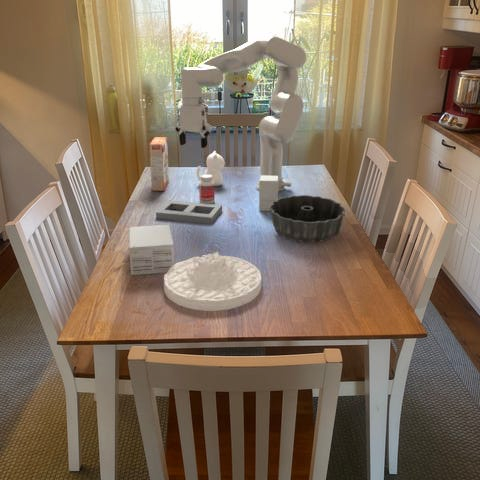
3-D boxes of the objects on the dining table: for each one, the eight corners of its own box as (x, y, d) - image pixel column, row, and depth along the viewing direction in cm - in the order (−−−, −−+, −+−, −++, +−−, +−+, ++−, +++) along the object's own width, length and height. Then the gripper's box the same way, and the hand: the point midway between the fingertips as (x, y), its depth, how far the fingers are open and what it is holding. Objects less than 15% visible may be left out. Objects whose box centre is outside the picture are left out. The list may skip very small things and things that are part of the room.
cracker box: (165, 191, 229) (162, 144, 221) (151, 191, 229) (148, 144, 221) (169, 181, 242) (167, 136, 234) (156, 181, 242) (154, 136, 234)
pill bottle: (217, 202, 217) (217, 176, 212) (204, 205, 214) (203, 179, 209) (209, 198, 221) (209, 172, 217) (196, 200, 218) (196, 175, 214)
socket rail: (222, 211, 208) (222, 205, 207) (211, 223, 195) (211, 217, 194) (169, 206, 212) (169, 200, 211) (156, 218, 200) (155, 212, 199)
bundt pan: (347, 250, 175) (350, 222, 171) (268, 248, 176) (269, 220, 172) (339, 221, 199) (341, 196, 195) (269, 219, 200) (270, 194, 196)
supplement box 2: (277, 205, 214) (278, 175, 209) (277, 211, 207) (278, 181, 202) (259, 204, 215) (260, 174, 210) (258, 211, 208) (259, 180, 203)
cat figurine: (225, 187, 235) (225, 154, 229) (197, 188, 233) (196, 155, 227) (223, 181, 243) (223, 149, 237) (196, 182, 242) (195, 150, 236)
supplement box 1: (175, 272, 160) (173, 244, 156) (131, 276, 157) (128, 247, 154) (171, 249, 175) (169, 223, 171) (130, 252, 173) (128, 226, 169)
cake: (209, 257, 170) (209, 229, 166) (280, 283, 154) (281, 254, 150) (143, 289, 150) (141, 259, 147) (216, 324, 134) (216, 291, 130)
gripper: (216, 102, 200) (217, 146, 207) (178, 98, 207) (180, 141, 214) (206, 104, 194) (207, 150, 201) (167, 101, 201) (169, 145, 208)
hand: (193, 145), depth 207 cm, fingers open, 9 cm apart
